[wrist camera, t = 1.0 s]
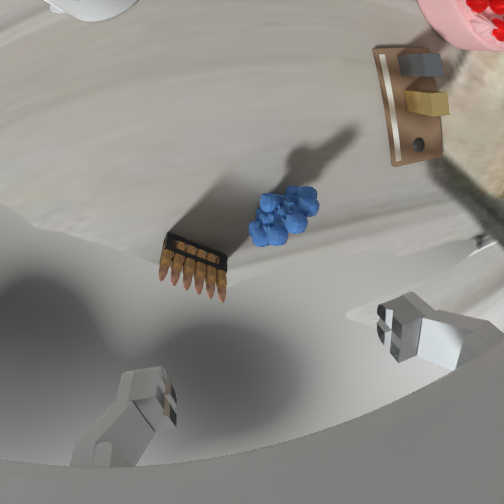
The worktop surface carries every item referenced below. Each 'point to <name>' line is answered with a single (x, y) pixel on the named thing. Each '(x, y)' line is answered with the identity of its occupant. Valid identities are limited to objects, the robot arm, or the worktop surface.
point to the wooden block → (427, 102)
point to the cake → (467, 22)
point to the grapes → (283, 215)
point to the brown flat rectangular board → (406, 110)
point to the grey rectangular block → (420, 65)
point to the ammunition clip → (202, 257)
